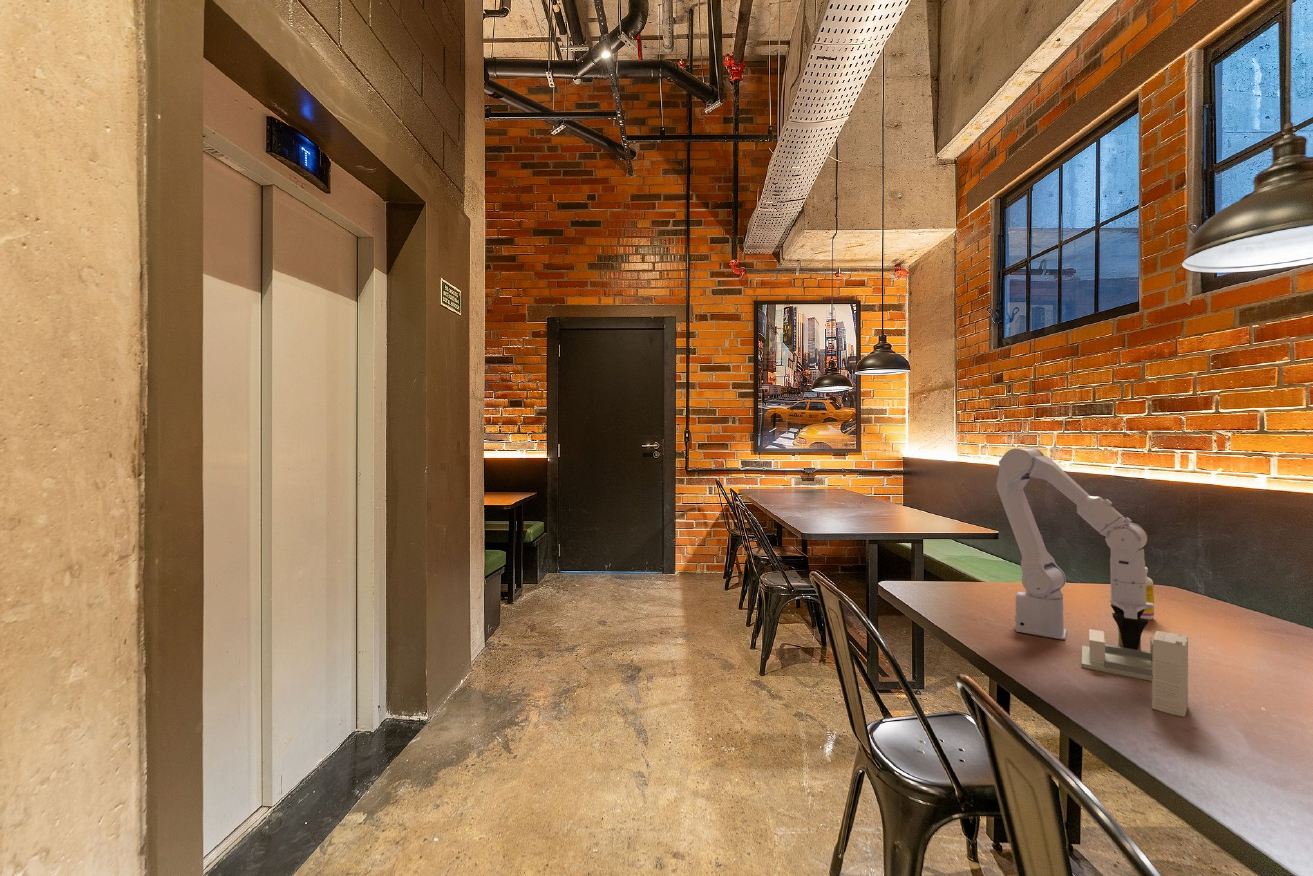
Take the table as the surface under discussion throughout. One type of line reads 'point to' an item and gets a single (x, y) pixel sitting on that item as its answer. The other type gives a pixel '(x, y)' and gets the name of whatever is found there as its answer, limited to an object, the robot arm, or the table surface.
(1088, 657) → the vise
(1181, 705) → the skincare box
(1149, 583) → the supplement bottle
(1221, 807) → the table surface
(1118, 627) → the block
